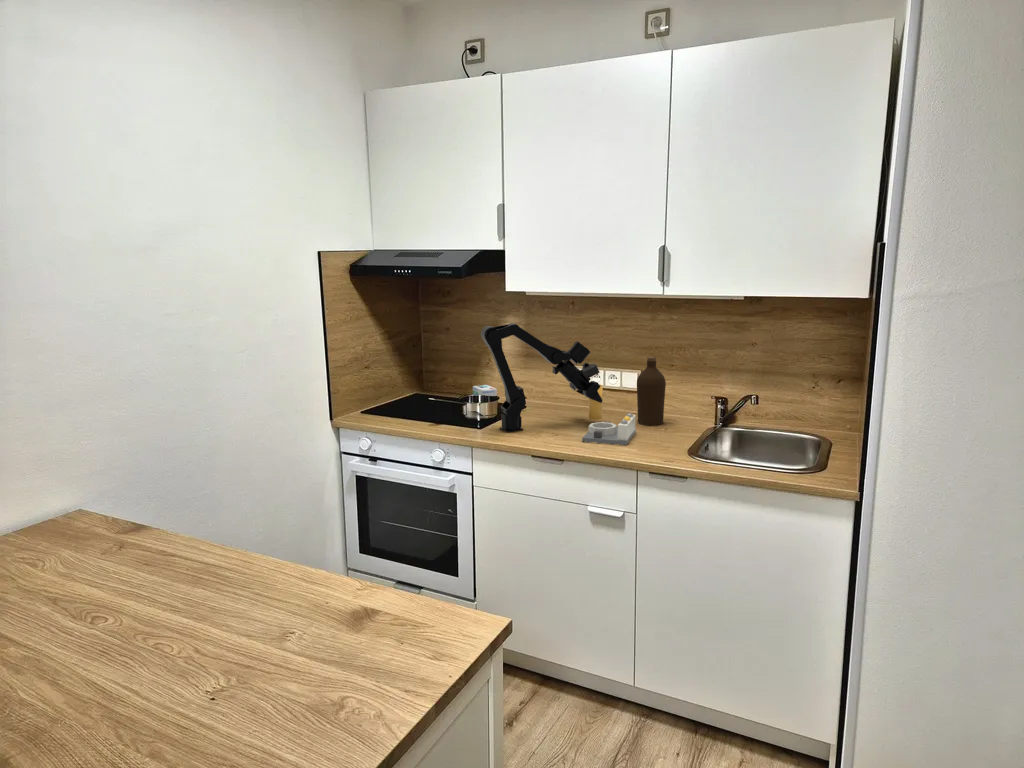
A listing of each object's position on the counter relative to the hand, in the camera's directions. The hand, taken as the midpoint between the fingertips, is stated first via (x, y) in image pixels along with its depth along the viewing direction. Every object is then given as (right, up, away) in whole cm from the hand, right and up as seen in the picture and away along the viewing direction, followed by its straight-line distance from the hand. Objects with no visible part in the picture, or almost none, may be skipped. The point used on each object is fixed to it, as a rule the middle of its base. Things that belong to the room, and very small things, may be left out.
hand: (599, 400), depth 256 cm
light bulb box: (-44, -6, +21) cm, 49 cm away
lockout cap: (-1, -7, +1) cm, 7 cm away
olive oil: (+19, -9, 0) cm, 21 cm away
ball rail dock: (+1, -12, -19) cm, 23 cm away
